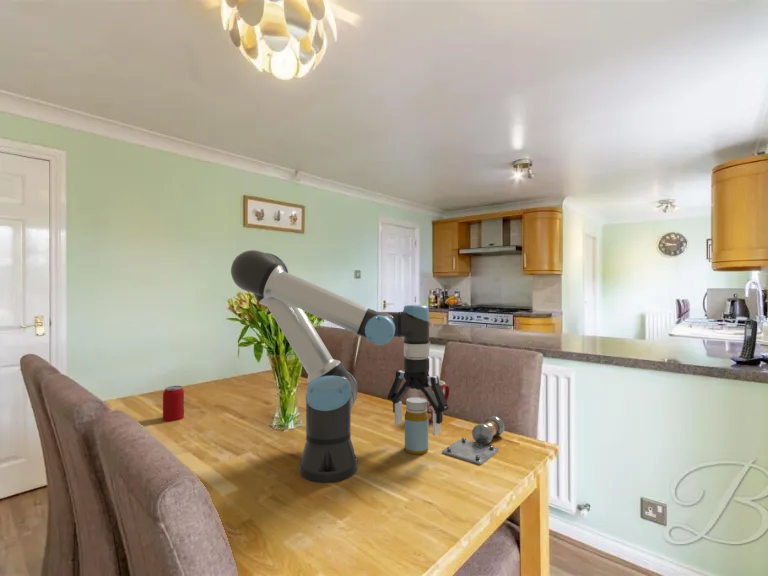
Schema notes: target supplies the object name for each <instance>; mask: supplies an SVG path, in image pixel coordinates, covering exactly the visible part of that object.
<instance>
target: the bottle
mask: <svg viewBox="0 0 768 576" xmlns="http://www.w3.org/2000/svg"><path fill="white" fill-rule="evenodd" d="M405 410H406V411H405V414H404V450H405V451H406V453H409V454H411V455H423V454H426V453H427V452H428V450H429V421H428V413H427V400H426V399H425V398H422V396H421V397H420V396H419V397H417V396H413V397H408V398H406V400H405Z"/></svg>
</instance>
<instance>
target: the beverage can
mask: <svg viewBox="0 0 768 576" xmlns="http://www.w3.org/2000/svg"><path fill="white" fill-rule="evenodd" d="M184 417H185V391H184V389H183V387H182V385H173V386H172V385H169V386H166V387H165V388H164V391H163V393H162V421H163V422H166V423H167V422H176V421H180V420H182V419H184Z"/></svg>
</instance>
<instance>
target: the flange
mask: <svg viewBox="0 0 768 576" xmlns="http://www.w3.org/2000/svg"><path fill="white" fill-rule="evenodd" d="M505 428H506V427H505V423H504V421H503V420H502V419H501V418H500V417H499V416H496V415H493V416H490V417H489V418H486V420H485V421H484V423H479V424H477V425H475V426H474V427H473V428H472V432H471V435H472V438H473V440H474V441H473V440H469V439H466V437H462V438H461V439H459V440H457V441H455V442H454V443H452V444H451V445H449V446H447V447H446V448H445V449H442V451H441V453H442V454H444V455H447V456H450V457H453V458H457V459H460V460H463V461H467V462H469V463H473V464H476V465H478V466H481V465H483V464H484V463H485V462H487V461H488V460H489V459H490V458H492V457H493V456H494V455H496V454H497V453H498V452H499V448H497V447H495V446H494V445H492V444H490V445H488V444H489V443H491V442H492V441H493V439H494V436H496V438H497V437H499V436H501V435H502V434H504V431H505Z"/></svg>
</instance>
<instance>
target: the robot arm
mask: <svg viewBox="0 0 768 576" xmlns="http://www.w3.org/2000/svg"><path fill="white" fill-rule="evenodd" d="M230 274H231V277H232V280H233V282H234V284H235V285H236V286H237V287H238V288H240V289H241V290H244V291H245V292H249V293H251V294H252V295H253V296H254V298H255V299H256V300H257V303H258V304H259V305H262V306H266V307H267V308H268V311H269V312H270V314H271V316H272V317H273V318H274V320H275V322H276V323H277V325H278V328H279V329H280V330H281V332H282V334H283V335H284V337H285V338H286V340H287V343H289V345H290V347H291V348H292V350H293V352H294V354H295V355H296V357H297V359H298V360H299V361H300V364H301V365H302V367H303V368H304V370H305V371H306V374H307V380H306V383H307V386H306V392H305V401H306V402H305V405H306V406H305V408H306V409H305V414H306V415H305V417H306V419H305V423H306V425H305V430H306V431H305V434H306V435H305V436H306V437H305V438H306V441H305V445H304V448H303V452H302V456H301V458H300V460H299V467H298V469H299V475H300V476H301V477H302V478H304V479H306V480H307V481H310V482H315V483H335V482H340V481H342V480H346V479H348V478H351V476H353V475H354V474H355V473H356V472H357V470H358V458H357V455H356V453H355V449H354V445H353V443H352V439H351V430H352V429H351V427H352V426H351V425H352V423H351V421H352V419H351V414H352V413H351V412H352V409H353V406H354V404H355V402H356V401H357V397H358V392H359V391H358V389H359V388H358V384H357V381H356V379H355V377H354V376H353V375H352V374H351V373H350V372H349V371H347V370H346V368H345V366H344V365H343V363H342V362H341V361H340V360H338V359H334V358H333V357H332V355H331V353H330V351H329V350H328V349H327V348H328V347H326V345H325V344H324V342H323V339H322V338H321V336H320V334H319V333H318V331H317V330H316V328H315V326H314V325H313V323H312V322H311V321H310V318H309V317H308V315H307V314H306V313H309V314H311V315H313V316H314V317H318V318H320V319H322V320H325V321H327V322H329V323H332V324H334V325H336V326H339V327H341V328H343V329H345V330H347V331H351V332H352V333H355V334H357V335H359V336H361V337H363V338H365V339H367V340H368V341H369V342H370V343H372V344H374V345H376V346H383V345H386V344H388V343H389V342H390V341H392V339H393V338H403V356H404V359H403V369H401V370H397V371H395V378H394V380H393V384H392V386H391V388H390V390H389V392H388V395H387V399H388V400H389V401H391V402H392V412H393V413H394V425H395V426H398V425H401V424H402V423H403V402H402V401H401V400H402V398H403V397H404V396H405V395H406V393H407V392H408V391H409V390H410V389H411V390H412V389H415V390H417V391H421V393H422V392H423V393H424V394H425V395H426V397H427V399H428V400H429V402H430V403H431V405H432V407H433V408H434V410H435V411H434V412H433V421H432V436H434V437H435V436H437V435H439V434H441V424H442V423H443V419H442V412H443V413H444V412H445V411H448V410H449V409H450V407H449V405H448V401H447V402H446V399H445V397H444V396H445V393H444V394H443V392H442V389H441V387H440V384H439V380H440V378H439V375H434V376H432V375H431V376H430V374H429V373H430V372H429V371H430V358H429V356H430V310H429V307H428V306H427V305H424V304H406V305H404V307H403V310H402V311H376V310H373V309H371V308H369V307H366V306H365V305H362V304H360V303H357V302H355V301H353V300H351V299H348V298H346V297H344V296H341V295H339V294H337V293H335V292H332V291H330V290H328V289H326V288H325V287H324V288H323V287H321V286H319V285H317V284H315V283H312V282H309V281H308V280H304V279H303V278H300V277H299V276H296V275H294V274H292V273H289V270H288V267H287V265H286V263H285V261H283V260H282V259H281V258H280V257H279V256H277V255H275V254H272V253H269V252H263V251H259V250H253V249H251V250H245V251H242V252H241V253H240V254H238V255H237V256H236V257H235V258H234V259H233V261H232V263H231V267H230ZM403 380H405V381H404V383H403ZM429 381H430V384H431V386H432V389H433V391H434V393H433V391H432V390H431V386H430V385H429V383H428V382H429ZM402 383H403V384H402ZM401 384H402V386H401ZM400 387H401V388H400ZM425 387H426V388H425Z"/></svg>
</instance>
